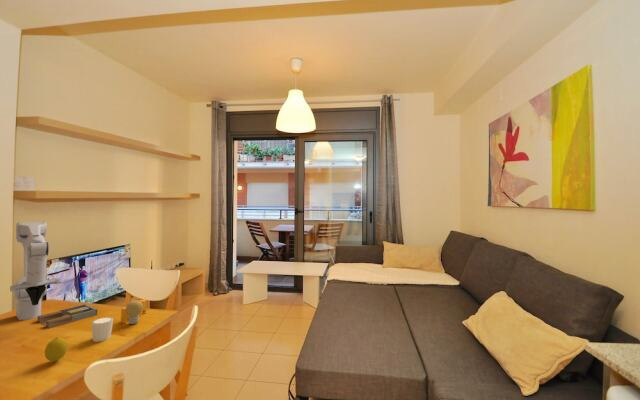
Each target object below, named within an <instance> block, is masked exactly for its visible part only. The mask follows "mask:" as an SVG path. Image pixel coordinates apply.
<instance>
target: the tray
mask: <svg viewBox="0 0 640 400" xmlns="http://www.w3.org/2000/svg"><path fill="white" fill-rule="evenodd" d="M82 307H88V308H90V311H87V312H83V313H79V314H75V315H71V316H72V321H74V322H77V321H80V319H81V320H84V319H87V317H88V318H91V316H92V317H95V316H98V308H95V307H93V306H91V305H88V304H87V303H84V304H83V303H82V304H80V305H76V306H72V307H68V308H62V309H60V310H59V311H62V312H63V315H66V314H67V311H70V310H74V309H78V308H82ZM94 315H95V316H94ZM83 318H84V319H83ZM76 320H77V321H76Z"/></svg>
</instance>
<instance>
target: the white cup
mask: <svg viewBox="0 0 640 400" xmlns="http://www.w3.org/2000/svg"><path fill="white" fill-rule="evenodd" d="M113 323H114V318H113V317H111V316H107V317H106V316H105V317H100V318H96V319H94V320H92V321H91V332H92V333H91V335H92V342H95V343H96V342H97V343H98V342H103V341H107V340H109V339H110V338H111V336H112V330H113Z"/></svg>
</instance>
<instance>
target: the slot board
mask: <svg viewBox="0 0 640 400" xmlns="http://www.w3.org/2000/svg"><path fill="white" fill-rule="evenodd" d="M95 316H96V315H94V316H91V317H95ZM91 317H90V318H91ZM36 318H37V322H38V323H40V324H41V325H43V326H45V327H46V328H48V329H51V328H54V327H59V326H62V325H67V324H70V323H73V322H77V321H78V320H76V321H72V316H70V315H67V314H66V315H63V312H62V311H60V310H56V311H53V312H49V313H45V314H41V315H40V316H38V317H36ZM87 318H89V317H87ZM87 318H86V319H87ZM80 320H85V318H83V319H80ZM80 320H79V321H80Z"/></svg>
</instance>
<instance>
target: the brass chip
mask: <svg viewBox="0 0 640 400" xmlns="http://www.w3.org/2000/svg"><path fill="white" fill-rule="evenodd" d="M79 313H80V310H78V309H74V310H70V311H67V315H70V316H71V315H75V314H79Z"/></svg>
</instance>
